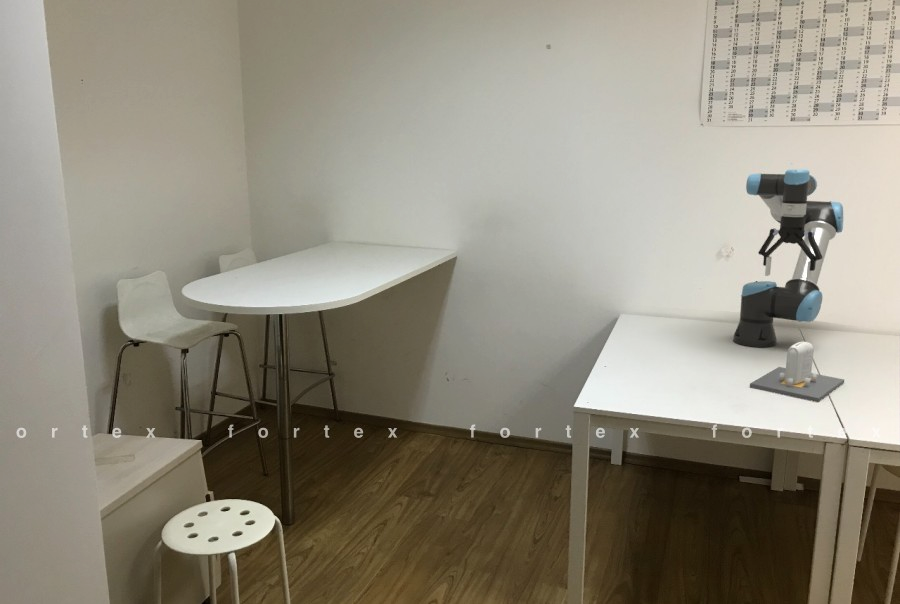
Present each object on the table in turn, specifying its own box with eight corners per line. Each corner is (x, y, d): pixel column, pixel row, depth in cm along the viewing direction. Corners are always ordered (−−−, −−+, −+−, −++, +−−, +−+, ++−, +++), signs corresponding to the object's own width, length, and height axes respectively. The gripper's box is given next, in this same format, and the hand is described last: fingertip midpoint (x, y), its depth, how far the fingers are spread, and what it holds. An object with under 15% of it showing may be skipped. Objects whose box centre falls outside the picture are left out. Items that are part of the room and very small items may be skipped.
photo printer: (799, 376, 233) (803, 338, 230) (812, 379, 229) (816, 341, 227) (782, 382, 227) (785, 343, 224) (795, 385, 223) (799, 346, 221)
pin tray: (749, 387, 226) (750, 375, 226) (778, 370, 243) (779, 359, 243) (818, 402, 213) (819, 390, 212) (844, 383, 230) (845, 371, 229)
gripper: (751, 214, 253) (747, 274, 257) (829, 218, 236) (822, 283, 240) (760, 212, 258) (755, 272, 262) (836, 217, 241) (830, 280, 246)
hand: (787, 277), depth 251 cm, fingers open, 13 cm apart
